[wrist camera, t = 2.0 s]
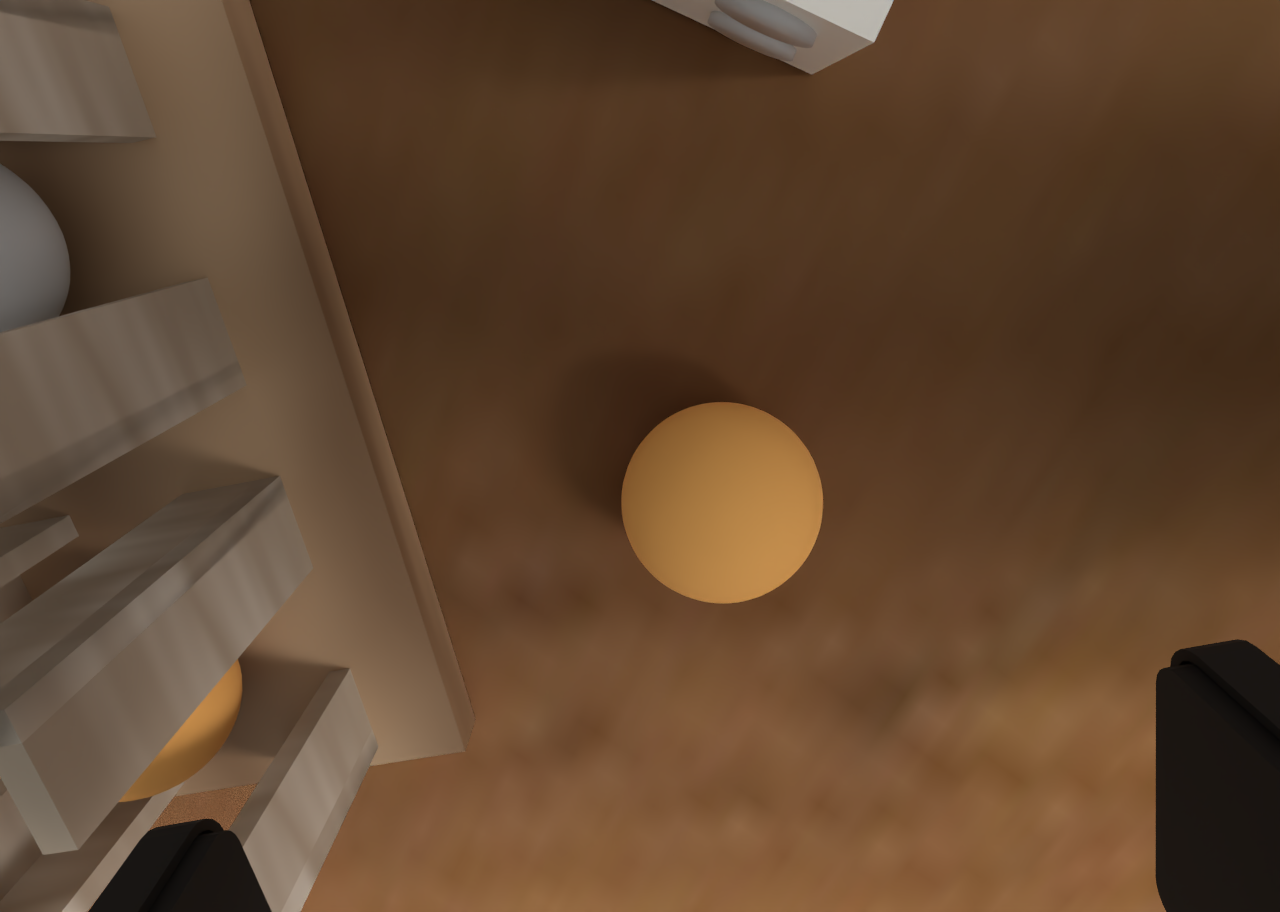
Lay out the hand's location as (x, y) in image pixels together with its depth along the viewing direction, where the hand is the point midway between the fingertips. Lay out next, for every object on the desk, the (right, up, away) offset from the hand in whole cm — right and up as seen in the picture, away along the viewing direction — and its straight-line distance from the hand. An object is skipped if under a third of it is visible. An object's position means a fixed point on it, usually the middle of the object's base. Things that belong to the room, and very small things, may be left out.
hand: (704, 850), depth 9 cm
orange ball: (+1, +4, +10) cm, 11 cm away
